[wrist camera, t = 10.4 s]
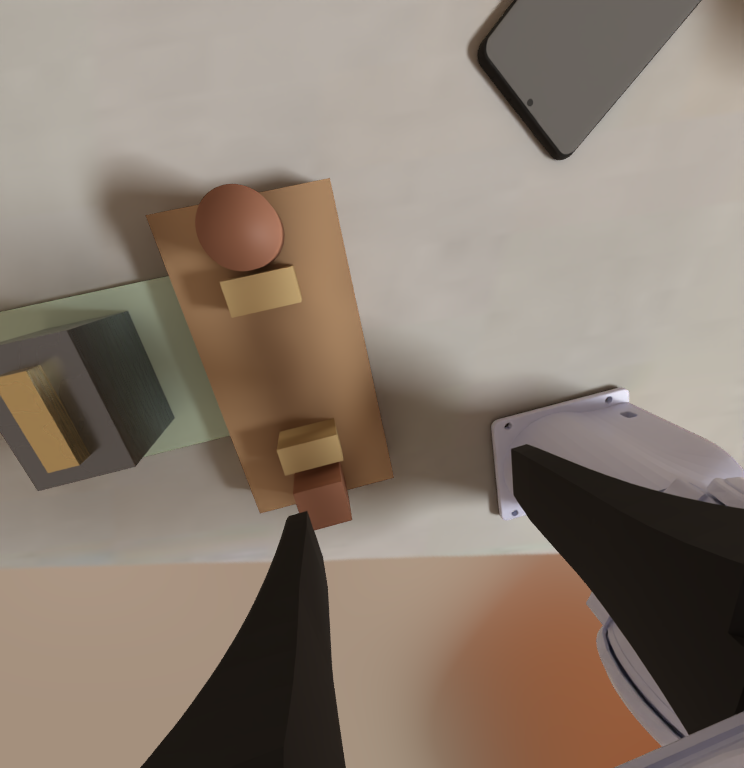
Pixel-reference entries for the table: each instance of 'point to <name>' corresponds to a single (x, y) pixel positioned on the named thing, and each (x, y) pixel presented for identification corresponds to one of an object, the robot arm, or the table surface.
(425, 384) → the table surface
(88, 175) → the table surface
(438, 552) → the table surface
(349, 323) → the block sculpture plaque
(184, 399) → the mat
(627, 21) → the smartphone
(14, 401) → the grey block
